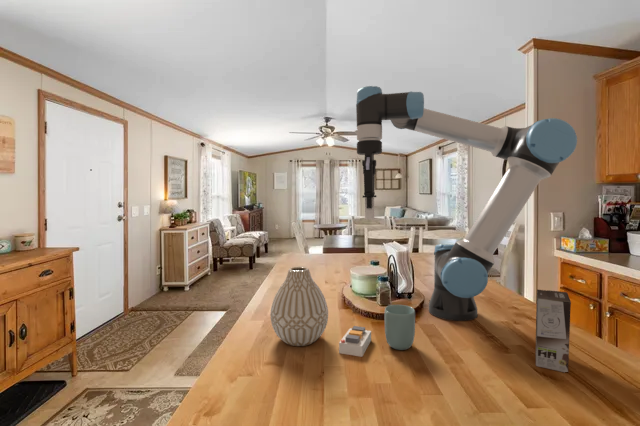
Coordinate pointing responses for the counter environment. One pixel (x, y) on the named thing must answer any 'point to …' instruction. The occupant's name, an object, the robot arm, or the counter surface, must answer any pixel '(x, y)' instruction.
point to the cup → (399, 326)
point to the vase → (299, 309)
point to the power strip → (355, 341)
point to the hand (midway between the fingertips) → (369, 218)
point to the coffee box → (552, 330)
